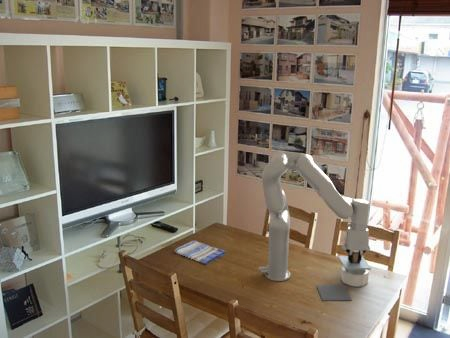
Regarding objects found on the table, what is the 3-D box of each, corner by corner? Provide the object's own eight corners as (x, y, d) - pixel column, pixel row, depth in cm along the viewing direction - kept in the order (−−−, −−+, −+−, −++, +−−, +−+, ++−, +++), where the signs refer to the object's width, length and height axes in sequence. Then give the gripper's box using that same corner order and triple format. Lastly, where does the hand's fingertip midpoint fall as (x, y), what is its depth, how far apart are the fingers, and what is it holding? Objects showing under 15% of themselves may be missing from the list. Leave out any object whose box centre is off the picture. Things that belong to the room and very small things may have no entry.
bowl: (345, 287, 217) (346, 275, 215) (338, 275, 228) (339, 264, 226) (369, 287, 217) (371, 275, 215) (362, 275, 228) (363, 264, 227)
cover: (344, 269, 214) (346, 257, 213) (338, 257, 226) (339, 246, 224) (370, 269, 215) (372, 257, 213) (362, 258, 226) (364, 246, 225)
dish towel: (194, 243, 265) (194, 238, 264) (226, 254, 251) (226, 250, 250) (172, 253, 252) (172, 248, 251) (205, 266, 238) (205, 261, 237)
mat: (322, 300, 205) (322, 299, 205) (316, 285, 218) (316, 285, 218) (351, 300, 206) (351, 299, 205) (344, 285, 218) (344, 285, 218)
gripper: (342, 228, 211) (339, 265, 216) (378, 229, 212) (374, 265, 217) (338, 222, 219) (335, 257, 223) (373, 223, 219) (369, 258, 224)
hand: (354, 261), depth 220 cm, fingers closed on cover, 3 cm apart
